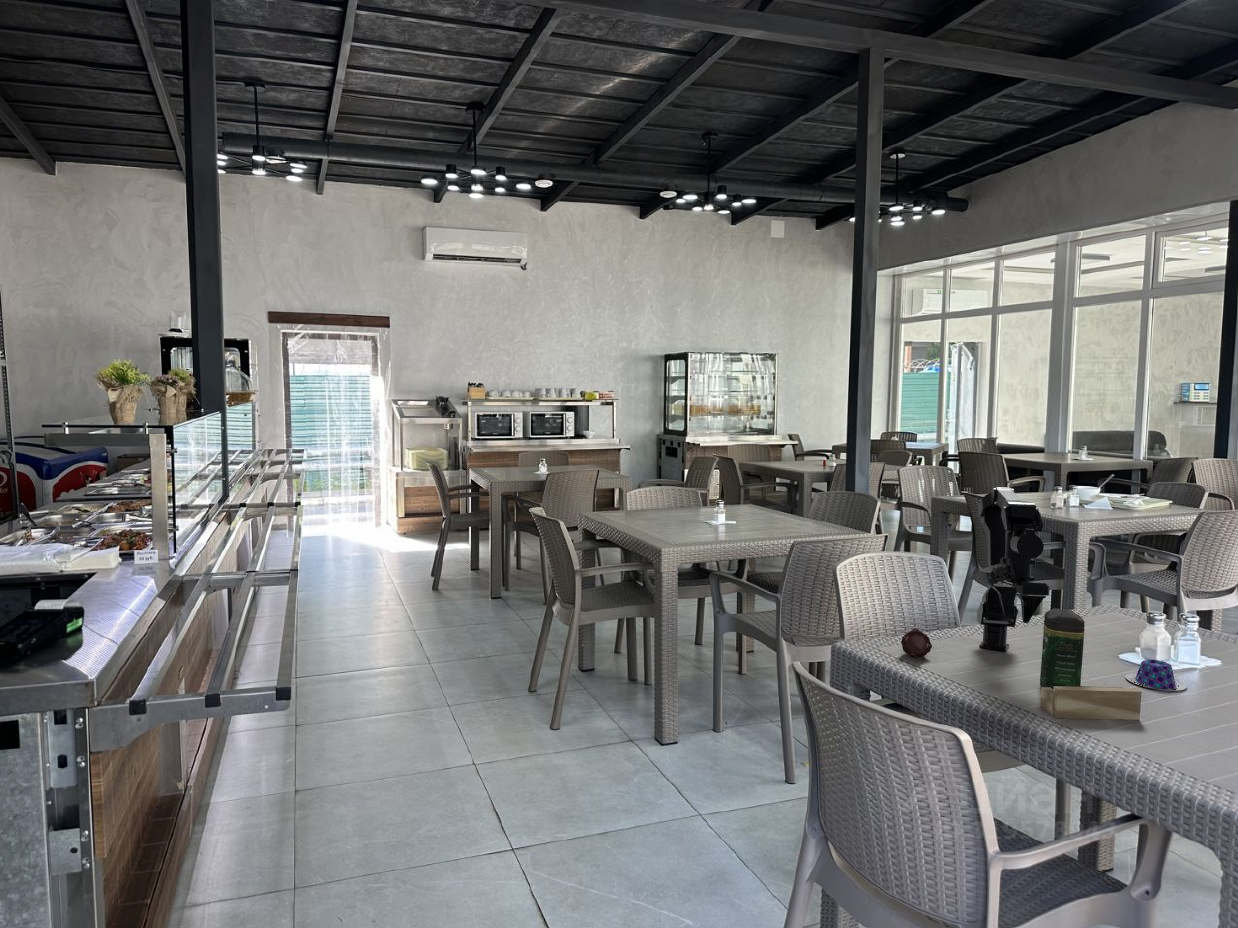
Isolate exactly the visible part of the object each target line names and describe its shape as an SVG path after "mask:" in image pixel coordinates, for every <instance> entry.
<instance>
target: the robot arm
mask: <svg viewBox="0 0 1238 928" xmlns="http://www.w3.org/2000/svg"><path fill="white" fill-rule="evenodd" d="M980 498H981V499H980V502H979V504H978V508H977V509H978V510H977V513H978V514H977V515H978V517H979V519H980V526H981V527H982V529H984V531H985V532H986V534H987V566H986V567H984V568H981V569H979V570H978V571H979V574H980V577H981V580H982V583H983V584H988V585H987V586H988V587H987V589H986V591H985V592H984V594H983V595H982V597H981V602H980V604H979V606H978V609H977V612H976V621H977V623H978V624H979V625H980V626H982V627H983V628H982V630H983V633H982V641H981V642H980V644H978V645H979V646H978V647H979V648H983V649H987V650H995V651H1000V652H1007V650H1008V649H1009V647H1010V644H1009V643H1007V637H1008V636H1007V635H1008V627H1009V628H1015V627H1016V623H1017V618H1018V614H1019V609H1018V608H1017V605H1016V603H1015V600H1016V597H1017V598H1018V599H1019V601H1020V606H1021V608H1020V609H1021V619H1022V623H1023V624H1029V623H1030V620H1031V619H1032V617H1033V616H1034V614H1035V612H1036V610H1037V609H1038V608H1039V606H1040V605H1041V604H1042V601H1043V600H1044V599H1046V597H1047V596H1050V589H1051V588H1050V586H1049V585H1048V584H1047V583H1046V582H1042V581H1040V580H1035V577H1034V576H1032V565H1036V560H1035V559H1037V558H1038V557H1040V556H1041V555H1042V554H1043V552H1044V549H1045V545H1044V543H1043V540H1042V539H1041V538H1040V536H1038V535H1036V533H1042V532H1043V528H1044V524H1043V523H1044V521H1043V518H1042V514H1041V512H1040V509H1039V508H1038V507H1037V505H1036V504H1035V502H1031V501H1025V500H1022V499H1021V498H1020V497H1019V496H1018V495H1017V494H1016V493H1015V489H1014V488H1011V487H1005V486H1004V487H1002V486H1001V487H1000V486H999V487H998V486H995V487H992V489H991V490H990V492H989V493H988V494H986V495H984V496H983V497H980Z"/></svg>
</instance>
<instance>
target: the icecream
mask: <svg viewBox="0 0 1238 928" xmlns="http://www.w3.org/2000/svg"><path fill="white" fill-rule="evenodd" d="M900 643H901V648H902V651H903V652H904V653H905V654H907V655H908V656H909V657H911V656H912V657H911V658H918V657H923V658H924V657H926V656H927V655H928V654H929V653H930V652H931V651H932V650H931V649H932V647H933V645H932V642H931V639H930V638H929V636H928V635H927V634H925V633H924V632H923V631H920V630H919V629H918V628H916V627H914V628H912V629H911V630H910V631H907V632H906V634H904V635H903V636H902V637H901V642H900Z"/></svg>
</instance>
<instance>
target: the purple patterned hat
mask: <svg viewBox="0 0 1238 928" xmlns="http://www.w3.org/2000/svg"><path fill="white" fill-rule="evenodd" d="M1134 676H1136V677H1135V679H1136V680H1137V681H1136V682H1138V684H1137V683H1134V682H1133V681H1131V680H1130V679H1129V678H1133V677H1134ZM1125 679H1126V680H1128V681H1129V682H1131V683H1133V684H1135V685H1138V686H1141V687H1144V688H1148V689H1152V690H1153V689H1154V690H1156V689H1157V690H1160V691H1164V690H1166V691H1167V692H1168V691H1169V692H1175V691H1176V692H1177V691H1183V690H1186V688H1187V685H1186V684H1185V683H1184V682H1182V681H1180V680H1178V679H1176V678H1175V676H1174V671H1173V667H1172V665H1171V664H1170V663H1168V662H1166V661H1164V660H1159V659H1148V658H1147V659H1144V660H1142V661H1141V662H1140V665H1139V667H1138V669H1137V672H1130V673H1127V674H1126V675H1125ZM1135 679H1134V680H1135ZM1175 681H1176V683H1177V684H1178V685H1179V688H1178V689H1176V687H1177V686H1176V684H1175ZM1139 683H1140V684H1141V685H1139ZM1142 684H1145V685H1146V686H1145V685H1143V686H1142ZM1147 686H1149V687H1147ZM1175 686H1176V687H1175ZM1173 688H1175V689H1176V690H1172V689H1173Z"/></svg>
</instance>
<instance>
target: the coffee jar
mask: <svg viewBox="0 0 1238 928" xmlns="http://www.w3.org/2000/svg"><path fill="white" fill-rule="evenodd" d="M1043 617H1044V620H1043V635H1042V646H1041V647H1042V650H1041V662H1040V663H1041V664H1040V674H1039V675H1040V676H1039V687H1040V688H1041V687H1050V688H1052V689H1053V686H1062V687H1064V686H1082V684H1081V683H1082V667H1083V658H1084V657H1083V656H1084V643H1085V642H1084V641H1085V620H1084V619H1083V617H1082V616H1080V615H1079V614H1077V613H1075V612H1074V611H1073V610H1072V609H1064V608H1063V609H1062V608H1054V607H1053V608H1052V609H1050V610H1048V611H1046V612H1045V613H1044V615H1043Z"/></svg>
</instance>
